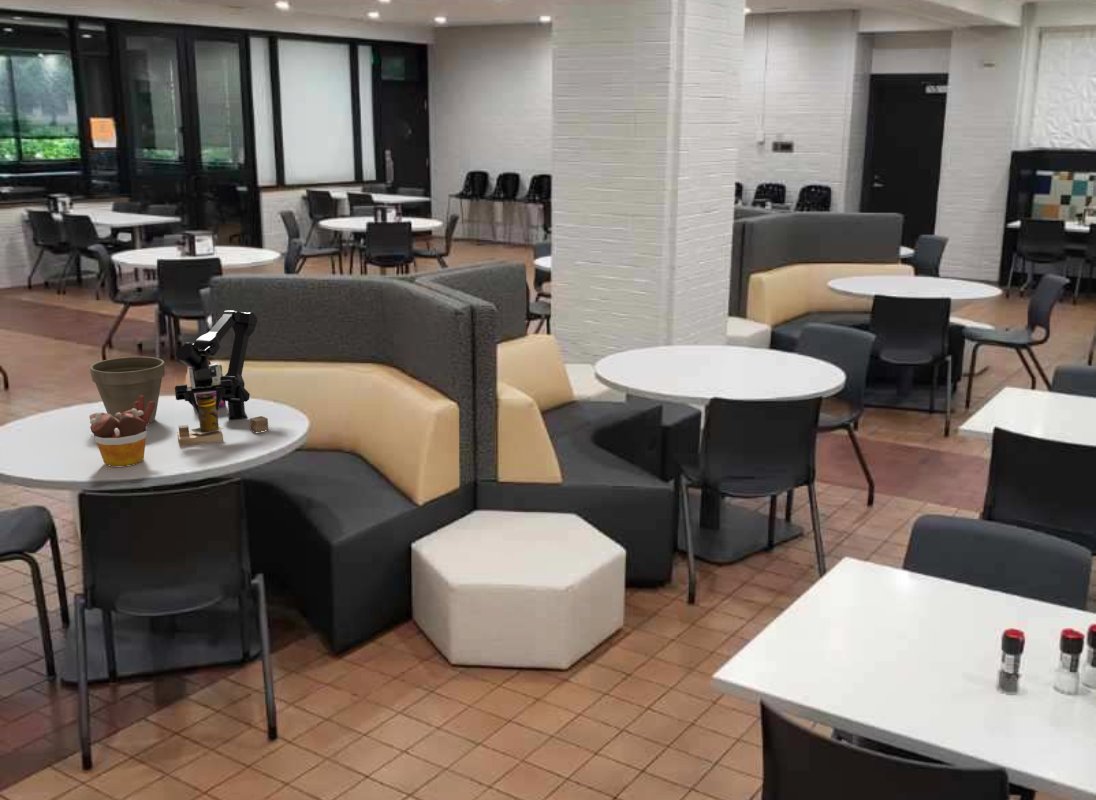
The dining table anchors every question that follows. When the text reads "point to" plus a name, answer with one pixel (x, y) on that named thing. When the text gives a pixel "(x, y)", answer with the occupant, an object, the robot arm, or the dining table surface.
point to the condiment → (207, 414)
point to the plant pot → (128, 382)
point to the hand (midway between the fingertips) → (207, 411)
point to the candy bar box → (215, 382)
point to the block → (259, 424)
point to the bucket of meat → (122, 434)
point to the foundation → (197, 437)
